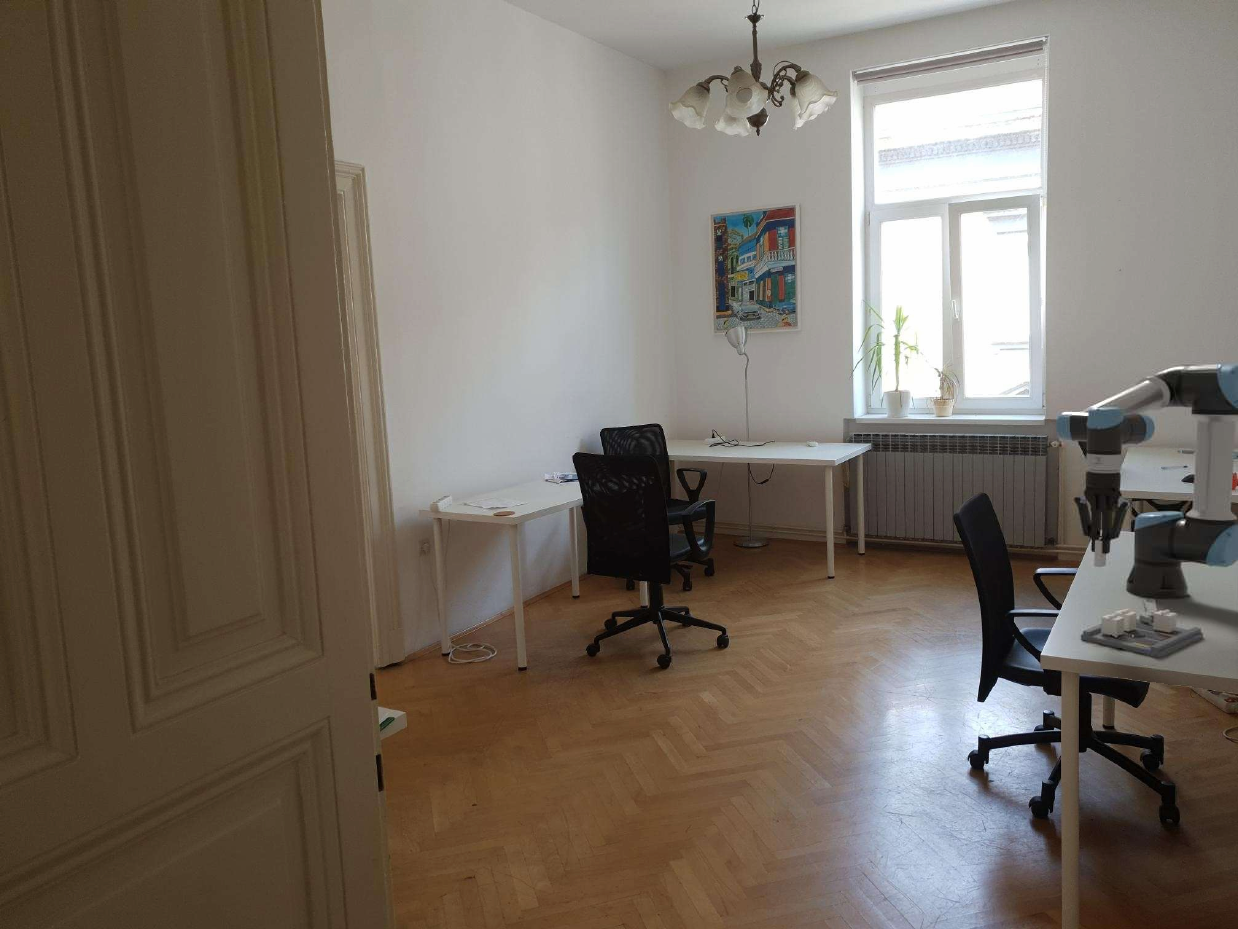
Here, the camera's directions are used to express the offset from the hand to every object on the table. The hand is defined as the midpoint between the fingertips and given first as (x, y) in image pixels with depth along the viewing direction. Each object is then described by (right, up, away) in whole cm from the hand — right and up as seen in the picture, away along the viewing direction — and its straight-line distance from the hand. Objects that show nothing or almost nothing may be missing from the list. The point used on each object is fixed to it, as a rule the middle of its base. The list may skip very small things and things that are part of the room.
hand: (1100, 565), depth 220 cm
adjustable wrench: (+21, -14, +13) cm, 29 cm away
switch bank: (+8, -17, -3) cm, 19 cm away
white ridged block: (+1, -16, -4) cm, 16 cm away
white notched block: (+15, -15, -2) cm, 21 cm away
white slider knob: (+6, -15, 0) cm, 17 cm away
